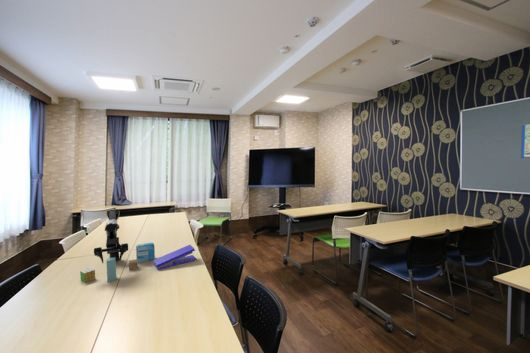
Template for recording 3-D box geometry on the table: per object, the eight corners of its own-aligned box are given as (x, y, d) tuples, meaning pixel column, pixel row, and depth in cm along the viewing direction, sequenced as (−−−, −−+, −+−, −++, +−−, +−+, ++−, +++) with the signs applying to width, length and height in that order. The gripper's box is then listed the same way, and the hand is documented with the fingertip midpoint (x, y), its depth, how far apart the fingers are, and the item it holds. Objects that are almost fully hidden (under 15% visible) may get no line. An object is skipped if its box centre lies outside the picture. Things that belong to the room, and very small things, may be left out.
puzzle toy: (84, 282, 147) (84, 273, 146) (80, 280, 150) (80, 271, 149) (95, 278, 152) (94, 269, 151) (91, 276, 155) (90, 267, 154)
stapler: (197, 260, 179) (197, 247, 178) (156, 271, 162) (156, 256, 162) (192, 256, 188) (191, 243, 187) (153, 265, 172) (152, 251, 171)
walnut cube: (129, 267, 167) (128, 260, 167) (137, 266, 170) (137, 259, 170) (129, 270, 163) (129, 263, 163) (137, 268, 166) (137, 261, 165)
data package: (136, 262, 175) (136, 246, 175) (136, 260, 179) (136, 244, 179) (154, 259, 181) (154, 243, 181) (154, 257, 185) (153, 242, 185)
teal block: (107, 278, 151) (107, 258, 150) (116, 277, 153) (115, 256, 153) (107, 281, 147) (106, 260, 146) (116, 279, 149) (115, 259, 149)
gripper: (93, 235, 152) (91, 258, 143) (127, 231, 161) (128, 252, 152) (95, 244, 159) (94, 266, 150) (127, 239, 168) (128, 260, 159)
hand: (111, 261), depth 152 cm, fingers open, 9 cm apart
